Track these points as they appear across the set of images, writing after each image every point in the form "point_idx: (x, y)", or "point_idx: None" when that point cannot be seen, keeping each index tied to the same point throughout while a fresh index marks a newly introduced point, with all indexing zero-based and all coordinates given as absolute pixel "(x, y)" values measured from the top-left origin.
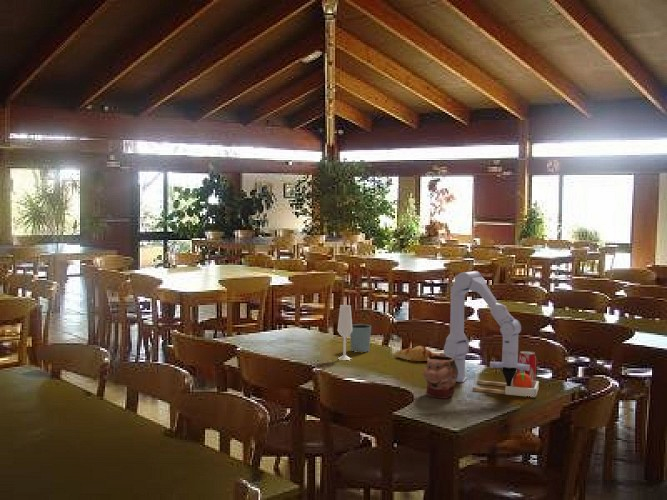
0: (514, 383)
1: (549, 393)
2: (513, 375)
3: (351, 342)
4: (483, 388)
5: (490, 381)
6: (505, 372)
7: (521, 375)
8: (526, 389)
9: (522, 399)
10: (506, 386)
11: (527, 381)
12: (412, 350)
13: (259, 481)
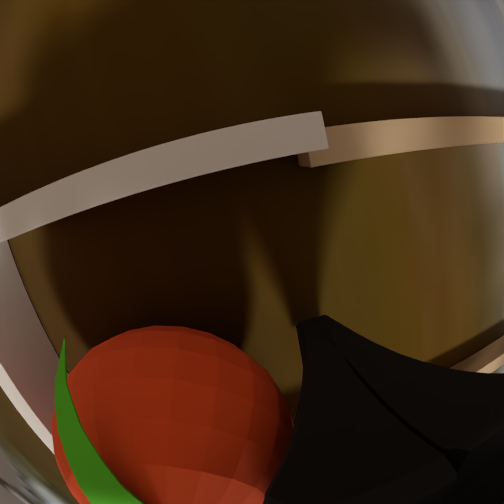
0: (246, 363)
1: (10, 400)
2: (288, 451)
3: None
4: (497, 130)
5: None
6: (487, 401)
7: (118, 486)
8: (7, 206)
9: (52, 49)
10: (303, 113)
11: (55, 412)
12: None
13: None
